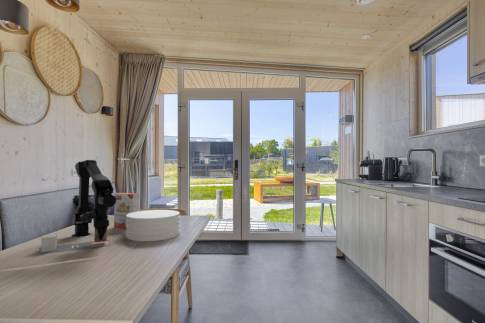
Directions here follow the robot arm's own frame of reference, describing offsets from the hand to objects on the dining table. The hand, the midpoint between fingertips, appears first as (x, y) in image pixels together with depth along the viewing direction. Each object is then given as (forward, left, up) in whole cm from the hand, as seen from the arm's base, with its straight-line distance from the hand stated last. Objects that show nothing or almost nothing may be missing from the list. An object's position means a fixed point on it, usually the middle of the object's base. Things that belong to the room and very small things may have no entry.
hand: (100, 238), depth 129 cm
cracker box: (-17, +34, -3) cm, 39 cm away
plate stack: (+9, +26, -4) cm, 28 cm away
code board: (-6, -8, -3) cm, 10 cm away
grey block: (-13, -15, -3) cm, 20 cm away
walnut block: (0, 0, -1) cm, 1 cm away
